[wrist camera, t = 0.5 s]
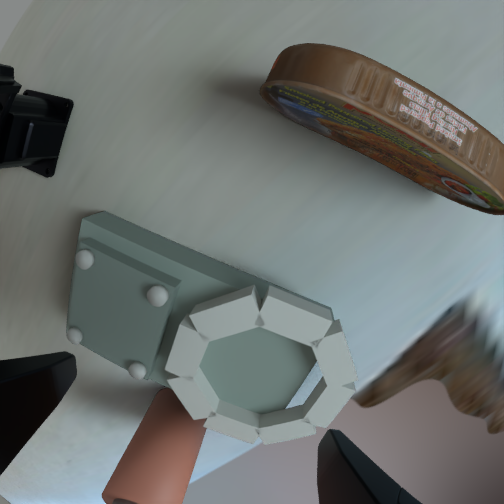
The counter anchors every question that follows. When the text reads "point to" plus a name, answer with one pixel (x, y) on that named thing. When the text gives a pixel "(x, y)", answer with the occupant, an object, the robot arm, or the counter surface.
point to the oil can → (158, 455)
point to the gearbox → (206, 332)
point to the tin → (389, 122)
